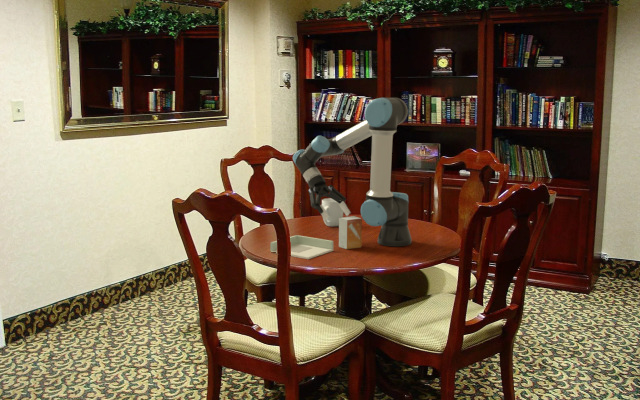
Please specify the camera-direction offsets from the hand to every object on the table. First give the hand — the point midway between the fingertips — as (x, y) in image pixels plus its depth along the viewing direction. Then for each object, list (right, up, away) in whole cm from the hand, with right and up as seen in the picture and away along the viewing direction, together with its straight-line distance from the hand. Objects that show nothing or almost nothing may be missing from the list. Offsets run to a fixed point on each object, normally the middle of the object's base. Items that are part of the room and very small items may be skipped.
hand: (338, 216), depth 297 cm
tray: (-16, -15, -11) cm, 24 cm away
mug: (-2, -6, +43) cm, 43 cm away
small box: (+5, -14, -3) cm, 15 cm away
